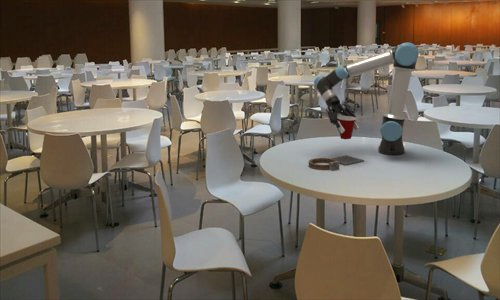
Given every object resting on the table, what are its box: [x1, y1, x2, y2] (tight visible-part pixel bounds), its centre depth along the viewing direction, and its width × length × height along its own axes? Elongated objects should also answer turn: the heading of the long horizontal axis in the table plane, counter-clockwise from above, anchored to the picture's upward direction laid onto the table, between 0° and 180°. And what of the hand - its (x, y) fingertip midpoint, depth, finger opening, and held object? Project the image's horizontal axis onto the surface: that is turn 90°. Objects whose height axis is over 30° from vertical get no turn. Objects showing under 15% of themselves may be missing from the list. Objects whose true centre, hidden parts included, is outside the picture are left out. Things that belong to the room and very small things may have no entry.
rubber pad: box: [330, 154, 365, 166], centre depth 283 cm, size 14×14×1 cm
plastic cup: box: [337, 115, 357, 140], centre depth 279 cm, size 11×11×12 cm
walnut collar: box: [308, 157, 340, 172], centre depth 273 cm, size 15×18×4 cm
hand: (350, 130), depth 277 cm, fingers closed on plastic cup, 10 cm apart
